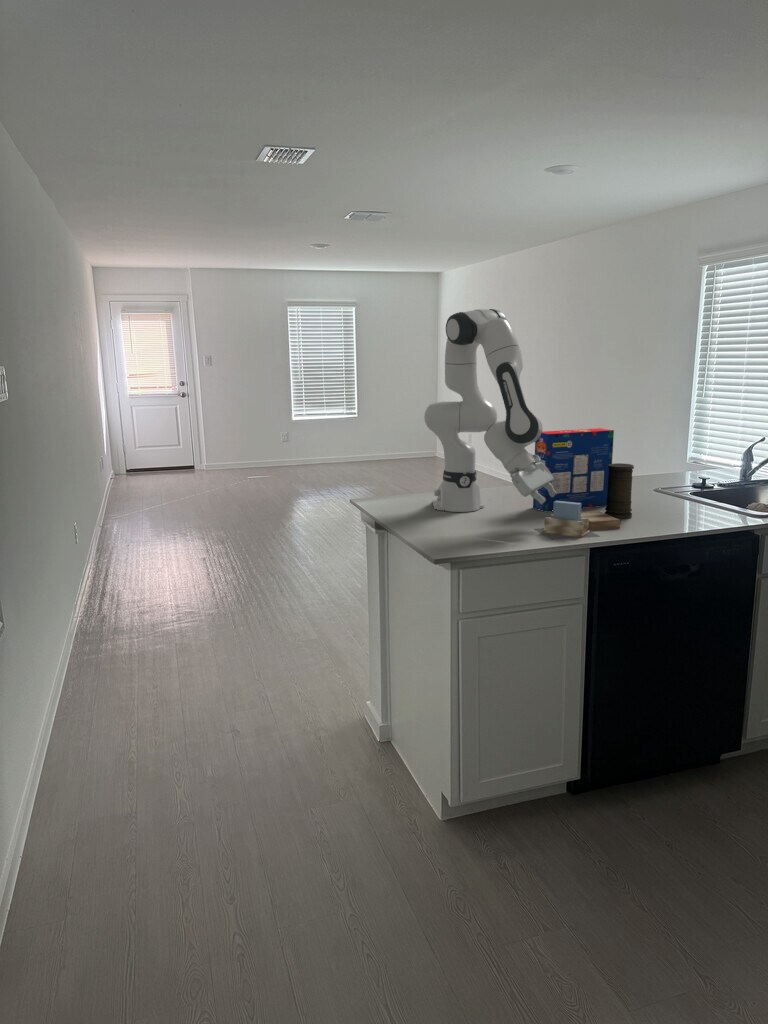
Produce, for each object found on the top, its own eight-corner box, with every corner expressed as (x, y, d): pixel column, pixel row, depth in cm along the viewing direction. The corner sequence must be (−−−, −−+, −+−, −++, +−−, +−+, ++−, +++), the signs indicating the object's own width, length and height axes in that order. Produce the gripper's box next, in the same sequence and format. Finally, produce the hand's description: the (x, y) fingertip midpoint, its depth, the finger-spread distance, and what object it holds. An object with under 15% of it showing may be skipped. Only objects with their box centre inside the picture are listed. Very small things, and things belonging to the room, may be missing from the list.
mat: (533, 529, 227) (533, 528, 227) (579, 526, 230) (579, 525, 230) (551, 540, 213) (551, 539, 213) (600, 537, 216) (600, 536, 216)
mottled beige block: (542, 532, 222) (542, 517, 221) (550, 527, 228) (550, 513, 227) (582, 537, 215) (583, 522, 214) (590, 532, 221) (590, 518, 220)
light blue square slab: (552, 529, 222) (553, 501, 220) (555, 528, 224) (556, 500, 222) (577, 533, 218) (578, 504, 216) (580, 531, 220) (581, 503, 218)
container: (636, 516, 244) (639, 464, 240) (624, 520, 238) (627, 467, 234) (611, 512, 250) (614, 462, 247) (599, 516, 244) (602, 465, 240)
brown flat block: (570, 521, 238) (571, 512, 237) (598, 519, 240) (598, 510, 239) (590, 530, 224) (591, 521, 224) (619, 529, 226) (620, 519, 225)
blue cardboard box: (595, 501, 269) (599, 428, 263) (609, 505, 262) (613, 430, 256) (532, 507, 260) (535, 431, 254) (545, 512, 252) (548, 434, 246)
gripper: (514, 465, 216) (544, 500, 214) (539, 454, 233) (567, 486, 230) (501, 478, 220) (530, 512, 217) (526, 466, 236) (553, 498, 234)
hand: (549, 499), depth 224 cm, fingers open, 8 cm apart
